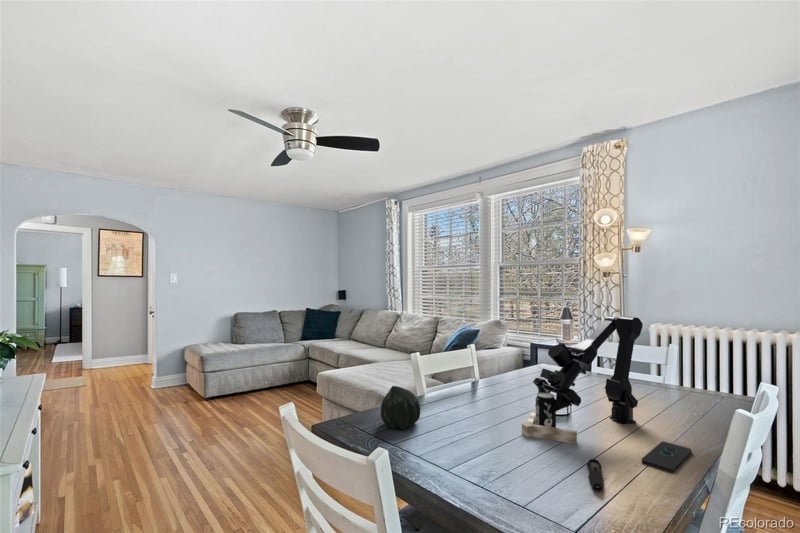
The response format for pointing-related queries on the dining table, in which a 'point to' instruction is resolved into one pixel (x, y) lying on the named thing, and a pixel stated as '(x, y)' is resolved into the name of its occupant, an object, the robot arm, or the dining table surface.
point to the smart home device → (667, 456)
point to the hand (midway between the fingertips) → (542, 409)
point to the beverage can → (545, 410)
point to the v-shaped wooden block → (547, 431)
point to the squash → (400, 408)
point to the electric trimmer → (595, 474)
